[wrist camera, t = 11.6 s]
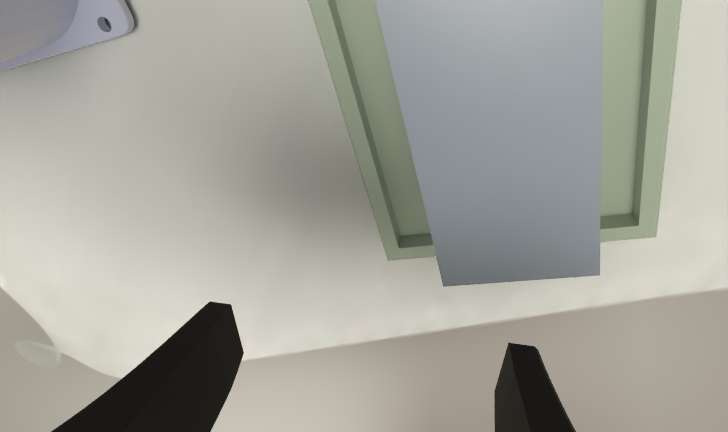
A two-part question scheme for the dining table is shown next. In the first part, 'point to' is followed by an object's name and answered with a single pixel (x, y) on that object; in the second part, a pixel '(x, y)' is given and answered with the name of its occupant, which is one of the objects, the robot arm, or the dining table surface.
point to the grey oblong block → (503, 131)
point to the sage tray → (618, 135)
